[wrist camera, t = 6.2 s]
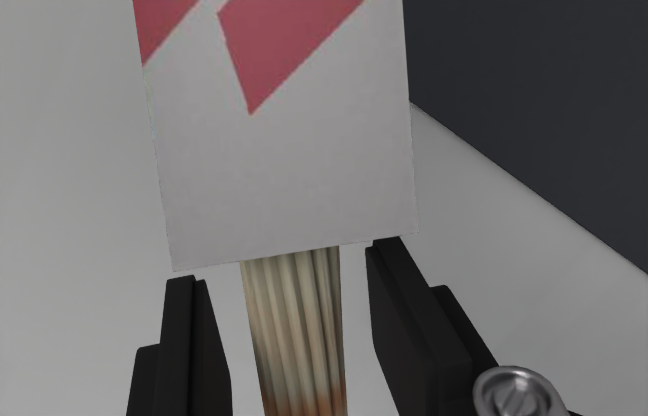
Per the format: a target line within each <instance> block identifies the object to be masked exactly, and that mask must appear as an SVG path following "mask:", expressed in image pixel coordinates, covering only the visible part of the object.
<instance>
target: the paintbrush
mask: <svg viewBox="0 0 648 416" xmlns="http://www.w3.org/2000/svg"><path fill="white" fill-rule="evenodd" d="M133 7H134V14H135V20H136V27H137V34H138V41H139V47H140V54H141V61H142V67H143V74H144V81H145V88H146V94H147V101H148V108H149V115H150V121H151V128H152V135H153V142H154V148H155V155H156V162H157V168H158V175H159V182H160V189H161V195H162V202H163V209H164V216H165V222H166V229H167V236H168V243H169V249H170V256H171V263H172V269H173V272H176V271H182V270H188V269H194V268H201V267H207V266H213V265H219V264H226V263H232V262H238V261H239V262H240V268H241V274H242V280H243V287H244V293H245V299H246V305H247V311H248V317H249V323H250V329H251V336H252V342H253V348H254V354H255V360H256V366H257V372H258V378H259V384H260V389H261V395H262V401H263V407H264V413H265V416H348V413H347V398H346V383H345V367H344V352H343V333H342V308H341V284H340V258H339V245H345V244H351V243H357V242H364V241H370V240H376V239H382V238H389V237H395V236H401V235H408V234H414V233H418V223H417V208H416V194H415V179H414V165H413V150H412V136H411V121H410V107H409V92H408V78H407V63H406V49H405V34H404V20H403V5H402V0H133Z"/></svg>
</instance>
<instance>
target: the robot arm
mask: <svg viewBox="0 0 648 416" xmlns="http://www.w3.org/2000/svg"><path fill="white" fill-rule="evenodd" d="M365 256H366V268H367V280H368V291H369V303H370V315H371V326H372V338H373V344H374V349H375V352H376V355H377V358H378V360H379V363H380V366H381V368H382V371H383V374H384V376H385V379H386V381H387V384H388V387H389V389H390V392H391V395H392V397H393V400H394V402H395V405H396V408H397V410H398V413H399V416H582V415H580V414H577V413H574V412H572V411H569V410H567V409H566V407H565V405H564V403H563V401H562V399H561V397H560V395H559V394H558V392H557V390H556V389H555V388H554V386H553V385H552V384H551V382H549V381H548V380H547V379H546V378H544V377H543V376H542V375H540V374H538V373H536V372H534V371H532V370H530V369H527V368H522V367H518V366H499V365H498V363H497V362H496V360H495V359H494V357H493V355H492V354H491V352H490V351H489V349H488V348H487V346H486V345H485V343H484V341H483V340H482V338H481V337H480V335H479V334H478V332H477V331H476V329H475V327H474V326H473V324H472V323H471V321H470V320H469V318H468V317H467V315H466V314H465V312H464V310H463V309H462V307H461V306H460V304H459V303H458V301H457V300H456V298H455V296H454V295H453V293H452V292H451V290H450V289H449V288H448V287H447V286H446V285H440V286H435V287H429V286H428V284H427V282H426V281H425V279H424V277H423V276H422V274H421V272H420V270H419V269H418V267H417V265H416V264H415V262H414V260H413V259H412V257H411V255H410V254H409V252H408V250H407V249H406V247H405V245H404V243H403V242H402V240H401V238H400V237H399V236H395V237H389V238H382V239H376V240H373V246H371V247H366V248H365ZM126 416H233V409H232V389H231V379H230V373H229V368H228V365H227V361H226V357H225V353H224V349H223V346H222V342H221V338H220V334H219V330H218V327H217V323H216V319H215V315H214V311H213V308H212V304H211V300H210V296H209V292H208V289H207V285H206V282H205V280H204V279H203V280H198V281H196V279H195V276H194V275H188V276H183V277H178V278H173V279H168V280H167V283H166V292H165V301H164V310H163V319H162V328H161V337H160V344H155V345H150V346H145V347H140V348H139V349H138V350H137V353H136V358H135V364H134V370H133V376H132V382H131V388H130V394H129V401H128V407H127V413H126Z"/></svg>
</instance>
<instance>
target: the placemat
mask: <svg viewBox="0 0 648 416" xmlns="http://www.w3.org/2000/svg"><path fill="white" fill-rule="evenodd" d="M402 5H403V20H404V34H405V49H406V63H407V78H408V92H409V100H410V101H411V102H412V103H414V104H415V105H417V106H418V107H419V108H421V109H422V110H423V111H425V112H426V113H427V114H429V115H430V116H432V117H433V118H434V119H436V120H437V121H438V122H440V123H441V124H443V125H444V126H445V127H447V128H448V129H449V130H451V131H452V132H454V133H455V134H456V135H458V136H459V137H460V138H462V139H463V140H465V141H466V142H467V143H469V144H470V145H471V146H473V147H474V148H476V149H477V150H478V151H480V152H481V153H482V154H484V155H485V156H486V157H488V158H489V159H491V160H492V161H493V162H495V163H496V164H497V165H499V166H500V167H502V168H503V169H504V170H506V171H507V172H508V173H510V174H511V175H513V176H514V177H515V178H517V179H518V180H519V181H521V182H522V183H524V184H525V185H526V186H528V187H529V188H530V189H532V190H533V191H534V192H536V193H537V194H539V195H540V196H541V197H543V198H544V199H545V200H547V201H548V202H550V203H551V204H552V205H554V206H555V207H556V208H558V209H559V210H561V211H562V212H563V213H565V214H566V215H567V216H569V217H570V218H572V219H573V220H574V221H576V222H577V223H578V224H580V225H581V226H582V227H584V228H585V229H587V230H588V231H589V232H591V233H592V234H593V235H595V236H596V237H598V238H599V239H600V240H602V241H603V242H604V243H606V244H607V245H609V246H610V247H611V248H613V249H614V250H615V251H617V252H618V253H620V254H621V255H622V256H624V257H625V258H626V259H628V260H629V261H631V262H632V263H633V264H635V265H636V266H637V267H639V268H640V269H641V270H643V271H644V272H646V273H647V274H648V0H402Z"/></svg>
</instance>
